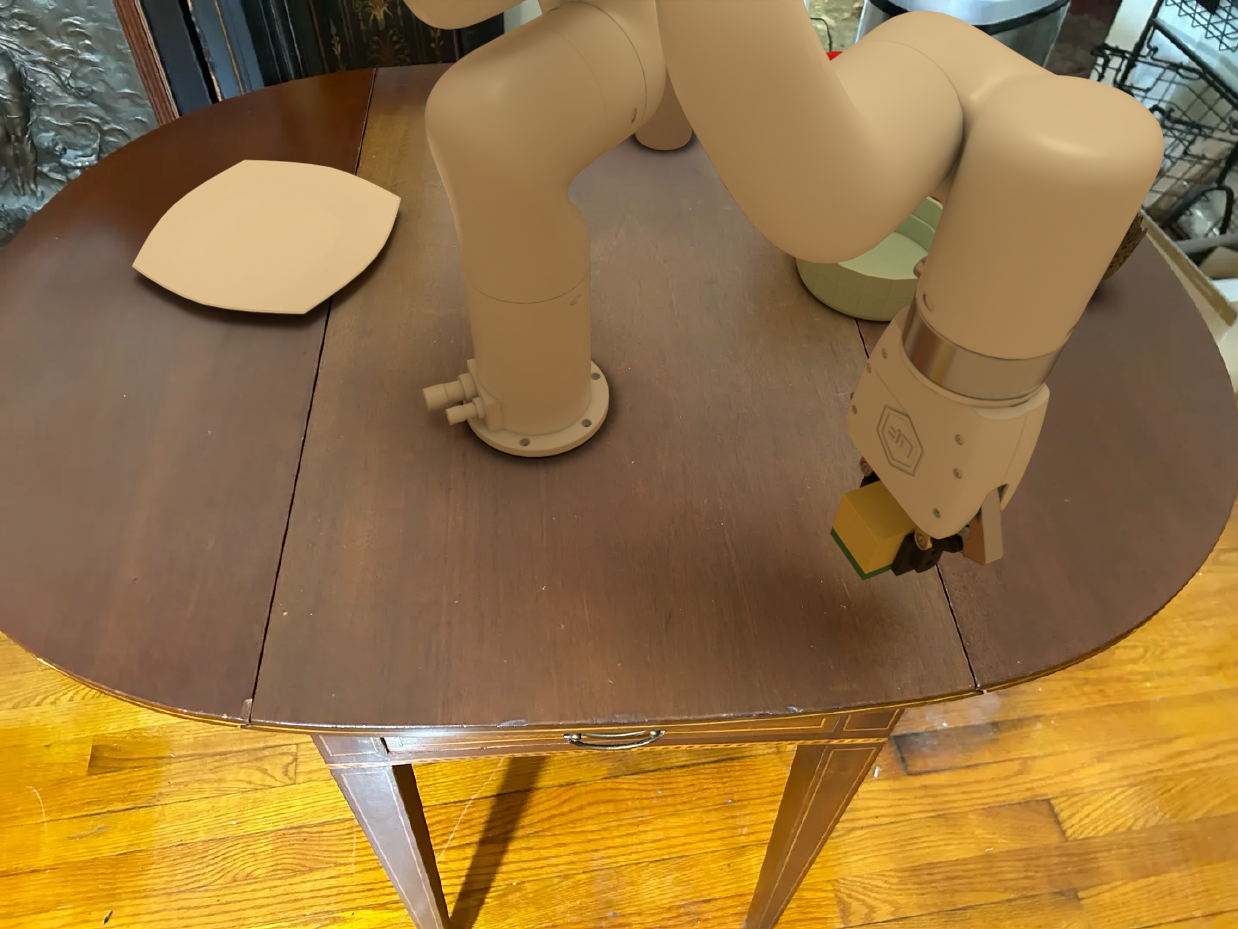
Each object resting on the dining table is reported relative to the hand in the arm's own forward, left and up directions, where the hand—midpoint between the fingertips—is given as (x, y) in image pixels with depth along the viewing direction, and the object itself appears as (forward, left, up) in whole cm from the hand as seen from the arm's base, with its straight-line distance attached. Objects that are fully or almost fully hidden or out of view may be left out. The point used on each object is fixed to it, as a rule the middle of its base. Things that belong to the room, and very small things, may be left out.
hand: (892, 536), depth 60 cm
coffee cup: (+13, +62, -10) cm, 64 cm away
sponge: (0, 0, 0) cm, 0 cm away
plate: (-32, +58, -10) cm, 67 cm away
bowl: (+22, +32, -10) cm, 40 cm away
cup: (+40, +23, -10) cm, 47 cm away
